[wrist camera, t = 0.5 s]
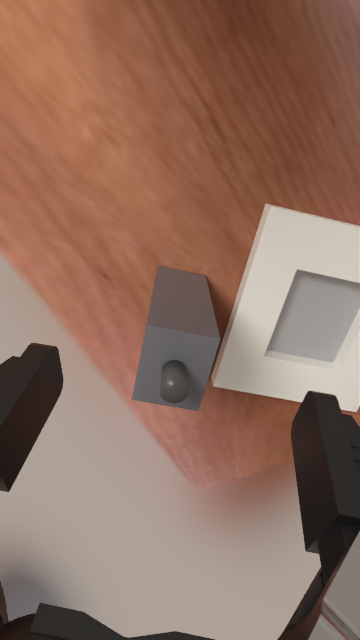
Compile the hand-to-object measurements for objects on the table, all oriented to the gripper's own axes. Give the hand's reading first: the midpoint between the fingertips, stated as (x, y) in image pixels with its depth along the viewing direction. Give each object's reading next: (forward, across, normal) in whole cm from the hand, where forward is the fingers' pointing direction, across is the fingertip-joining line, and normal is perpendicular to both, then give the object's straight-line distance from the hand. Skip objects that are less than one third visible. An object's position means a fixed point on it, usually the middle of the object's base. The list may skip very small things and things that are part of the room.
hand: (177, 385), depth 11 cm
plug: (+17, +2, +8) cm, 19 cm away
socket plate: (+18, -10, +9) cm, 22 cm away
